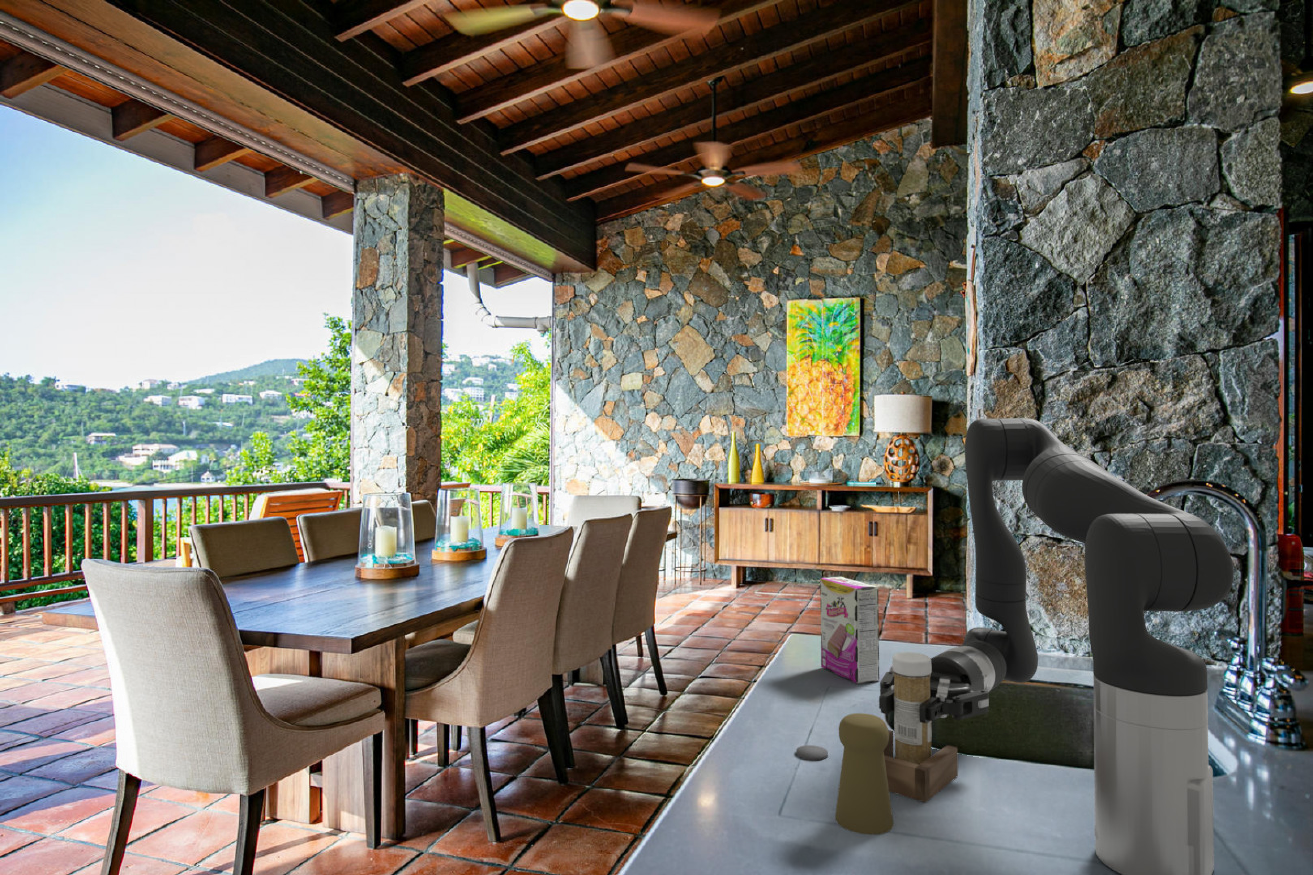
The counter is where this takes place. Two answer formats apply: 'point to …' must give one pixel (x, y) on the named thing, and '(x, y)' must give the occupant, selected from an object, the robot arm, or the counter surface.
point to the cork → (864, 776)
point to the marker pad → (812, 752)
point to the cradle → (920, 773)
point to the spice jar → (911, 706)
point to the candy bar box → (850, 629)
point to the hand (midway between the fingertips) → (903, 709)
